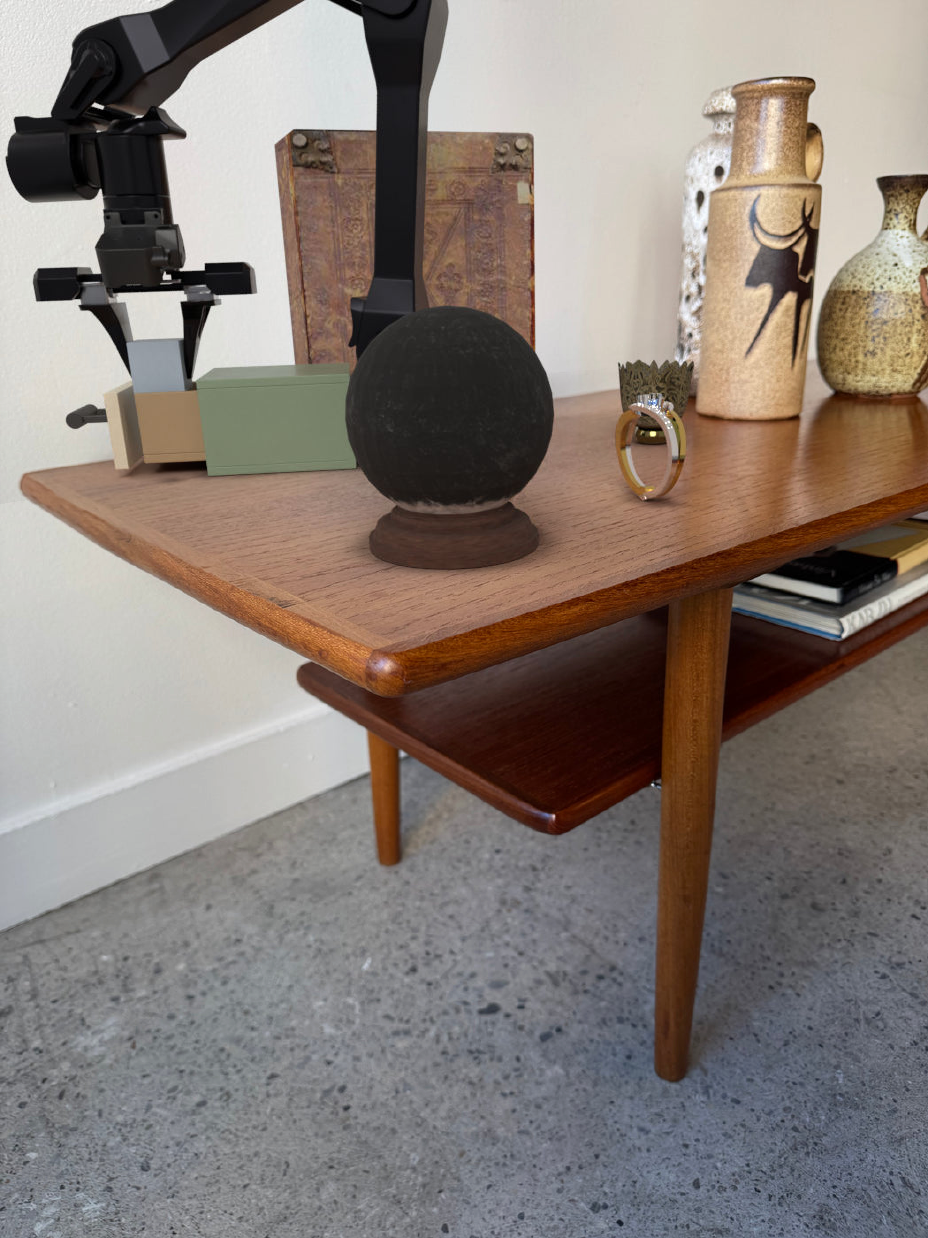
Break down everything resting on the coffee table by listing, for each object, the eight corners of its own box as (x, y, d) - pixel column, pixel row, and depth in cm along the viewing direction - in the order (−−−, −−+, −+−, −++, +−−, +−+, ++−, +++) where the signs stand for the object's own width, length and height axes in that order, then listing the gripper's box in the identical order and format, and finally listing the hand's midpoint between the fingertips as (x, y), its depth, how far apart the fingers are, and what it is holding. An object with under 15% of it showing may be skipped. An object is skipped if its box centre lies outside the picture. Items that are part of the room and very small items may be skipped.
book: (506, 417, 113) (502, 144, 102) (536, 427, 105) (536, 132, 94) (300, 434, 105) (273, 141, 95) (315, 447, 97) (288, 127, 87)
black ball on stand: (469, 509, 70) (463, 300, 65) (595, 543, 60) (600, 301, 55) (317, 543, 62) (296, 309, 57) (434, 588, 53) (421, 312, 47)
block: (193, 386, 89) (186, 337, 88) (185, 392, 85) (178, 340, 83) (144, 389, 89) (136, 339, 87) (134, 394, 84) (126, 342, 83)
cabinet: (207, 476, 84) (195, 380, 81) (223, 453, 95) (213, 367, 92) (356, 468, 86) (349, 373, 83) (355, 446, 97) (349, 362, 94)
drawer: (67, 472, 83) (53, 395, 81) (96, 451, 93) (84, 382, 91) (254, 462, 85) (246, 387, 83) (263, 443, 95) (256, 375, 92)
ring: (605, 493, 74) (608, 390, 71) (639, 488, 75) (643, 387, 72) (654, 511, 68) (659, 400, 65) (691, 506, 69) (697, 397, 66)
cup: (638, 434, 99) (641, 357, 96) (702, 440, 95) (707, 359, 92) (601, 444, 94) (604, 362, 91) (667, 450, 89) (671, 365, 87)
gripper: (-7, 192, 73) (32, 394, 78) (234, 187, 75) (255, 384, 80) (38, 203, 83) (69, 380, 89) (248, 198, 85) (266, 372, 90)
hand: (162, 379), depth 87 cm, fingers closed on block, 4 cm apart
